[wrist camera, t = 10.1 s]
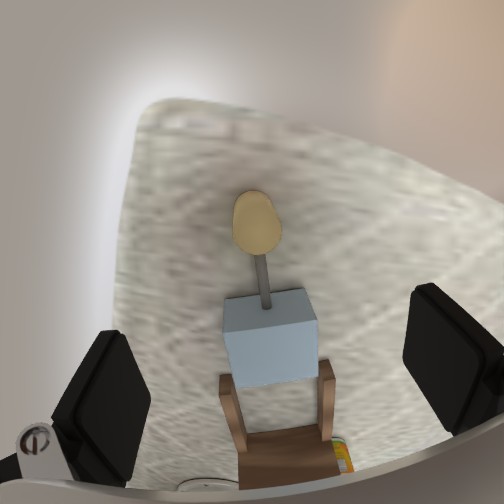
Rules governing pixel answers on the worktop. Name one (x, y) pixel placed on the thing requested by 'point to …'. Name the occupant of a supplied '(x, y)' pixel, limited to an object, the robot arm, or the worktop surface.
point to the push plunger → (267, 309)
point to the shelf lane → (284, 441)
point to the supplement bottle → (342, 456)
